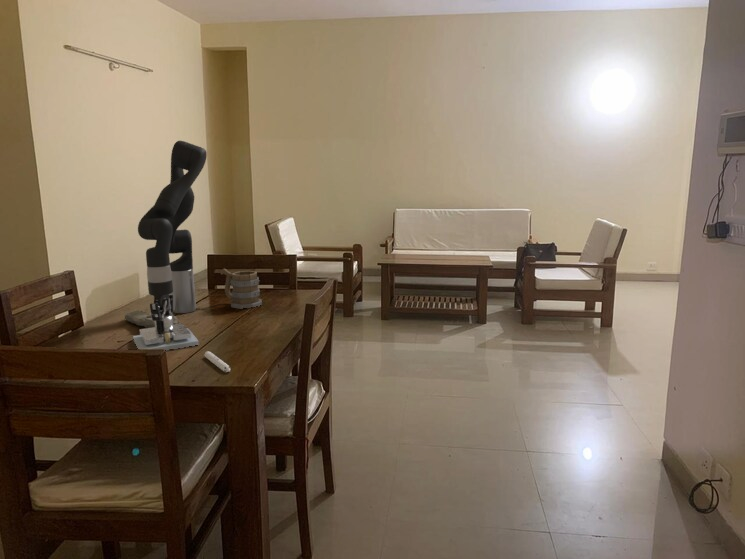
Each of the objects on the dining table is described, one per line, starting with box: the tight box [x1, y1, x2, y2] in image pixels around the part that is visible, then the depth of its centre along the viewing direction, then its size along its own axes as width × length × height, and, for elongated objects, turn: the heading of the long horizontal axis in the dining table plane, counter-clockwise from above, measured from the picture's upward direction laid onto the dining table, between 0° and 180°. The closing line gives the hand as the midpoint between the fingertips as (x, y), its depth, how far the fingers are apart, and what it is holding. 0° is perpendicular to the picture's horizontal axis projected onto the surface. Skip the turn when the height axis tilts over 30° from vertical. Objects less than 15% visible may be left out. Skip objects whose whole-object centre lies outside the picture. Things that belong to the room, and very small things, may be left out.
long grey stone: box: [124, 310, 180, 329], centre depth 204 cm, size 35×5×10 cm
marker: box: [204, 351, 231, 373], centre depth 162 cm, size 18×2×2 cm, turn 35°
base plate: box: [132, 327, 200, 352], centre depth 184 cm, size 18×18×4 cm
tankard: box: [219, 268, 263, 310], centre depth 236 cm, size 20×13×15 cm, turn 58°
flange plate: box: [139, 314, 191, 345], centre depth 183 cm, size 14×14×7 cm
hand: (164, 329), depth 184 cm, fingers closed on flange plate, 5 cm apart
